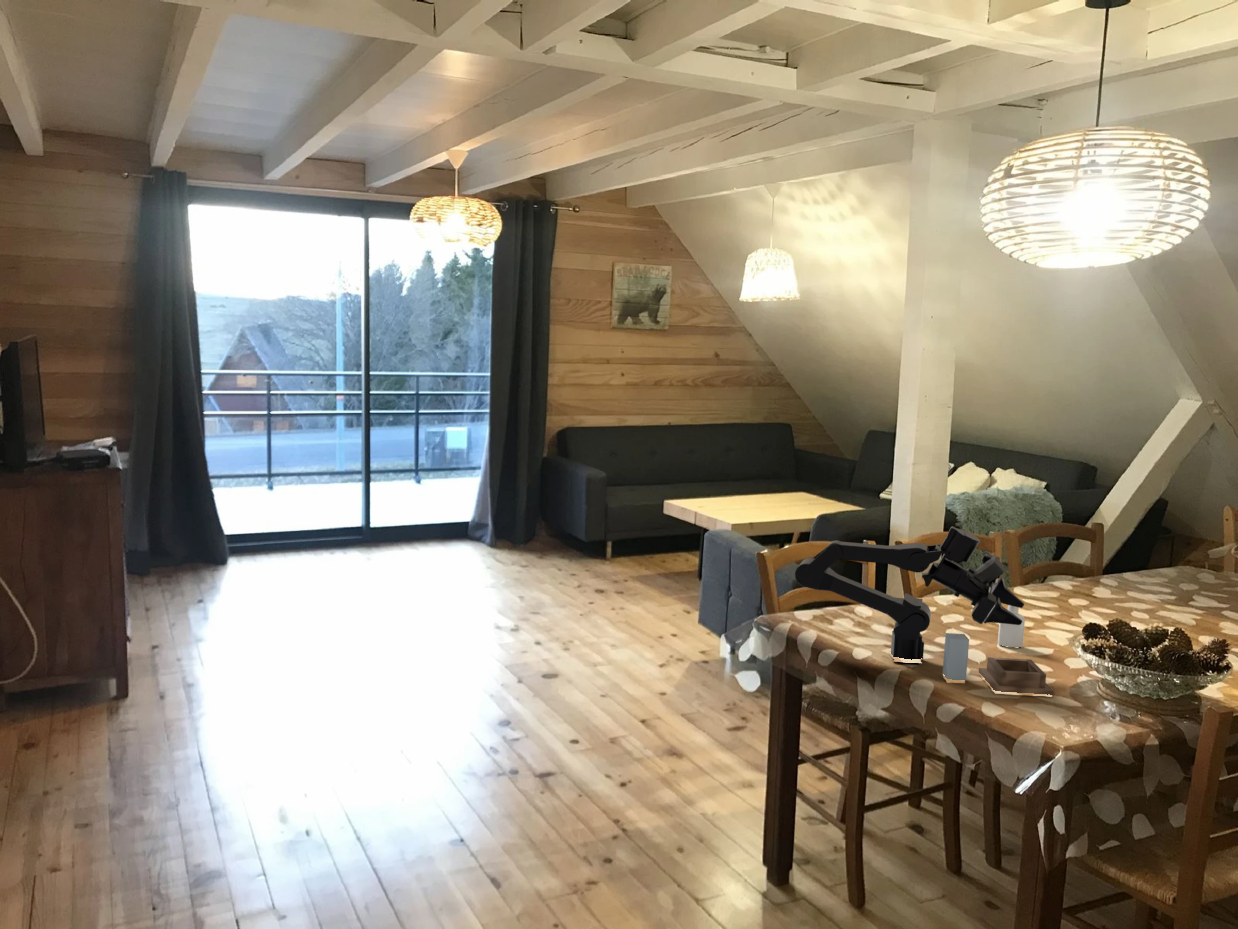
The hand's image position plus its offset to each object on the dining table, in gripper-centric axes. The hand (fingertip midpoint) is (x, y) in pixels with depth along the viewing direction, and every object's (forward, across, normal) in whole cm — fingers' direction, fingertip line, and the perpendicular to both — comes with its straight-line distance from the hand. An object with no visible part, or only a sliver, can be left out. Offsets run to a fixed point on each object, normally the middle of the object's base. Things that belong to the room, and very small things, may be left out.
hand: (1022, 614), depth 215 cm
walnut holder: (+5, -10, +12) cm, 16 cm away
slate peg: (-6, -12, +16) cm, 21 cm away
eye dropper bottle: (+5, +18, +17) cm, 25 cm away
